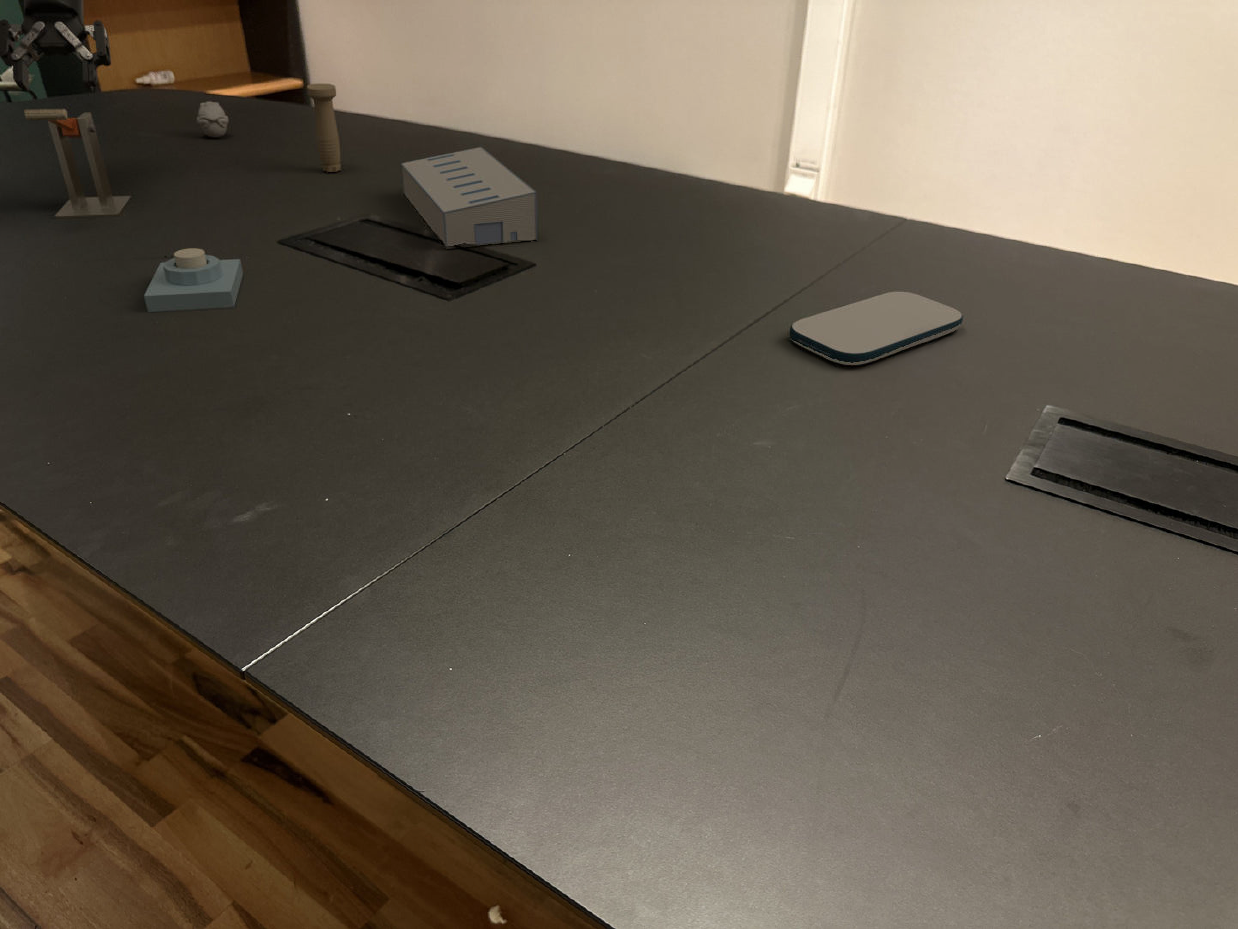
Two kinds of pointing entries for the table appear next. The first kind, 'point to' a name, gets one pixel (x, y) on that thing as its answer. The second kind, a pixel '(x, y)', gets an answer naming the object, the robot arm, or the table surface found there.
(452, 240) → the warehouse
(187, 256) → the button
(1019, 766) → the table surface
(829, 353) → the external hard drive
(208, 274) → the button box
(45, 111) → the lever
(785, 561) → the table surface
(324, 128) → the handle
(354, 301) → the table surface
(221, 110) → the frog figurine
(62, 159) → the bracket
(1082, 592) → the table surface
